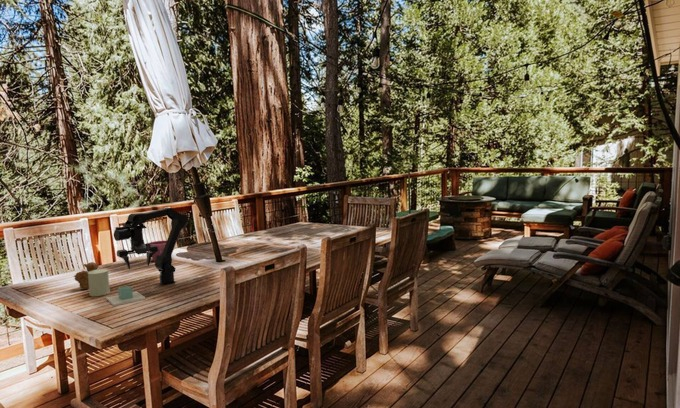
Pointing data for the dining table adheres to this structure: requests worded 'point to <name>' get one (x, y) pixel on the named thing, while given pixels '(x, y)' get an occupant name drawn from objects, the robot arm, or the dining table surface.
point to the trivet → (117, 301)
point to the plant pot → (160, 248)
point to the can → (98, 282)
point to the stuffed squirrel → (85, 275)
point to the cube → (125, 292)
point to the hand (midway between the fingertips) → (138, 267)
